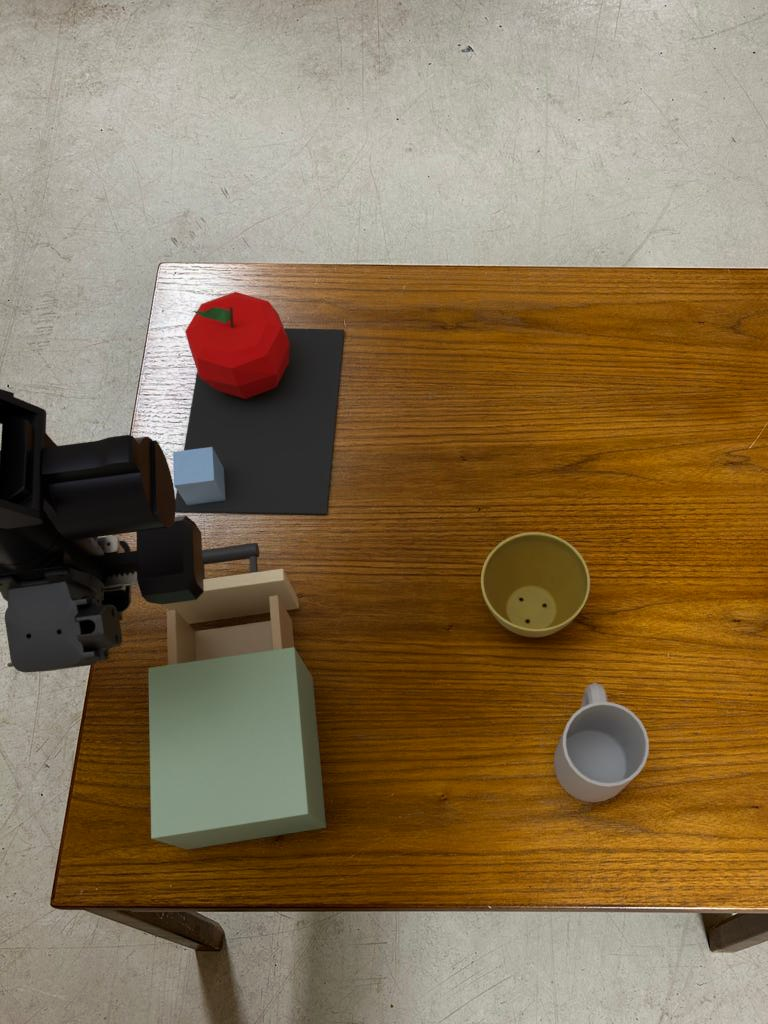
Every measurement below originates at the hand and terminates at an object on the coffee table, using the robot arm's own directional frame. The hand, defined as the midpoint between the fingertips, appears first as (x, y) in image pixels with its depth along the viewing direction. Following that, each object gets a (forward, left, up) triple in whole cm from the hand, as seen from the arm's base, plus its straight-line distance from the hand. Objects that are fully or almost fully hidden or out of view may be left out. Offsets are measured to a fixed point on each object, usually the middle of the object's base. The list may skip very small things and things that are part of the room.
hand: (117, 615), depth 67 cm
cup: (+39, -15, -12) cm, 44 cm away
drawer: (+7, 0, -11) cm, 13 cm away
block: (+4, +19, -12) cm, 23 cm away
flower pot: (+36, 0, -12) cm, 38 cm away
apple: (+10, +33, -12) cm, 36 cm away
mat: (+11, +27, -12) cm, 31 cm away
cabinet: (+7, -11, -12) cm, 18 cm away
